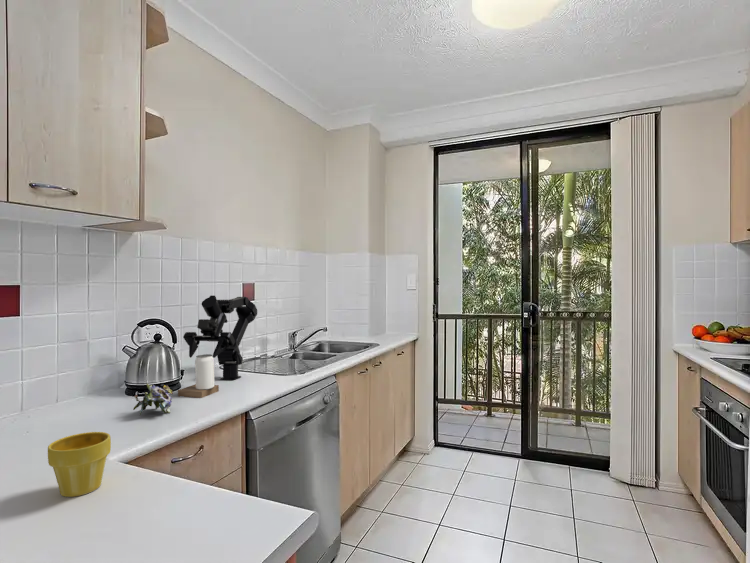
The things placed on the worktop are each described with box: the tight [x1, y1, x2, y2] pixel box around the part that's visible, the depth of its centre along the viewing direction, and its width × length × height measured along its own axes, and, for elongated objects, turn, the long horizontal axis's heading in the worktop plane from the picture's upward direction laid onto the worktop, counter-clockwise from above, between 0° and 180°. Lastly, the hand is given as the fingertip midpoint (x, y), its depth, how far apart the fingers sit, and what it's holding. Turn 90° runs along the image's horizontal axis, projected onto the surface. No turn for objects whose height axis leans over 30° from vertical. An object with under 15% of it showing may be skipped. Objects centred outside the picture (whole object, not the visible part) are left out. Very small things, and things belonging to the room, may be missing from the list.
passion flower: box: [133, 383, 174, 416], centre depth 136 cm, size 11×11×12 cm
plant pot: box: [47, 431, 112, 498], centre depth 86 cm, size 10×10×10 cm
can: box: [194, 353, 215, 390], centre depth 159 cm, size 6×6×12 cm
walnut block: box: [177, 383, 220, 399], centre depth 160 cm, size 10×10×3 cm
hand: (201, 357), depth 161 cm, fingers open, 9 cm apart
